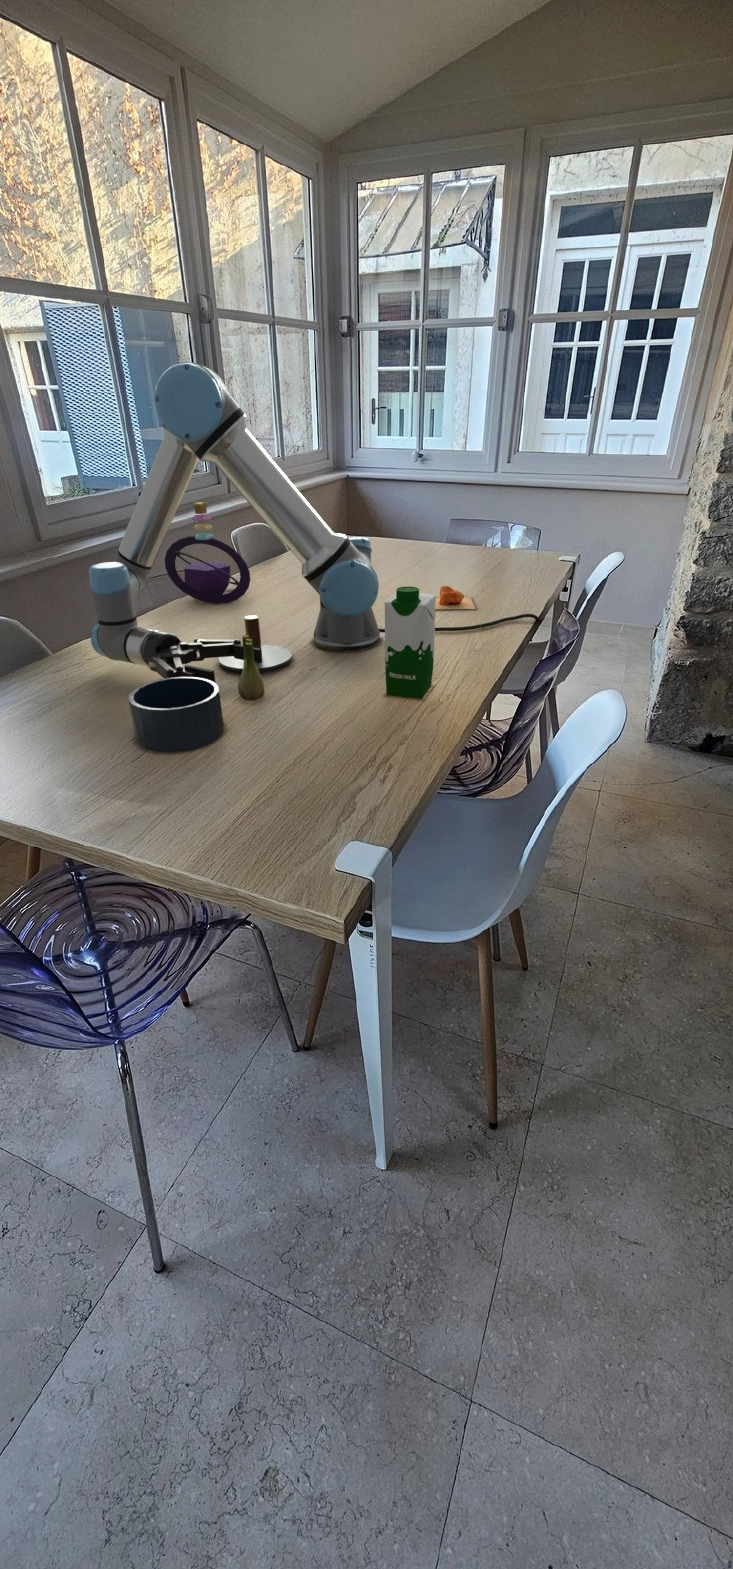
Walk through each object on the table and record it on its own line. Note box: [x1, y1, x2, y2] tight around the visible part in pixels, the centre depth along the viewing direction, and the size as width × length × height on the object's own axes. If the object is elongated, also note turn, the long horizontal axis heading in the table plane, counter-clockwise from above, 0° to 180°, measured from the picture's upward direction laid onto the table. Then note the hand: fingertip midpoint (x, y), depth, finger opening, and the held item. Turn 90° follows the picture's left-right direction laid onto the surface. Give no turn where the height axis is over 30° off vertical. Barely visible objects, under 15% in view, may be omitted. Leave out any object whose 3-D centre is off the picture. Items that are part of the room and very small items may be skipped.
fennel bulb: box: [237, 634, 265, 702], centre depth 129 cm, size 6×5×12 cm
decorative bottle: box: [164, 501, 251, 605], centre depth 193 cm, size 22×21×25 cm
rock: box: [435, 585, 476, 611], centre depth 187 cm, size 12×12×4 cm
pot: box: [127, 677, 225, 754], centre depth 118 cm, size 15×15×8 cm
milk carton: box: [383, 586, 437, 700], centre depth 130 cm, size 9×9×20 cm
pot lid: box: [218, 614, 293, 672], centre depth 148 cm, size 16×16×10 cm
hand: (238, 667), depth 131 cm, fingers open, 13 cm apart
